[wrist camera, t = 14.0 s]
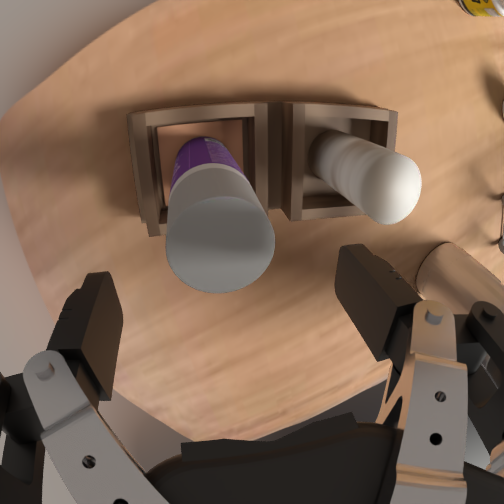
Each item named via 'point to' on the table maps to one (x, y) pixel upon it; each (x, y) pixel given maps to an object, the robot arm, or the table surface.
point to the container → (215, 221)
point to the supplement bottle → (483, 7)
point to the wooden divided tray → (283, 157)
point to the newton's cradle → (503, 242)
